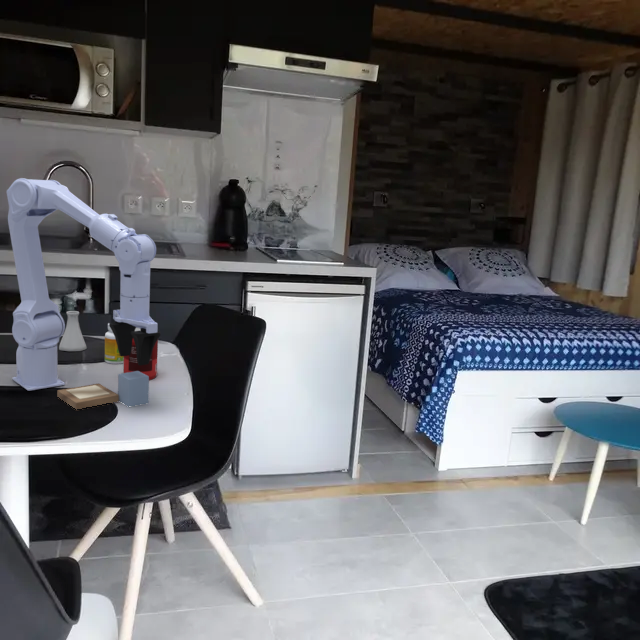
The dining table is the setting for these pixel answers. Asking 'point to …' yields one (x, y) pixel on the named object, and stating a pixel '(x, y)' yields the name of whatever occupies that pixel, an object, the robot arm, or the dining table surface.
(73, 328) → the flask
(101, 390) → the plinth
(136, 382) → the block
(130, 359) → the canned food
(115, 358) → the supplement bottle
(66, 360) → the dining table surface
